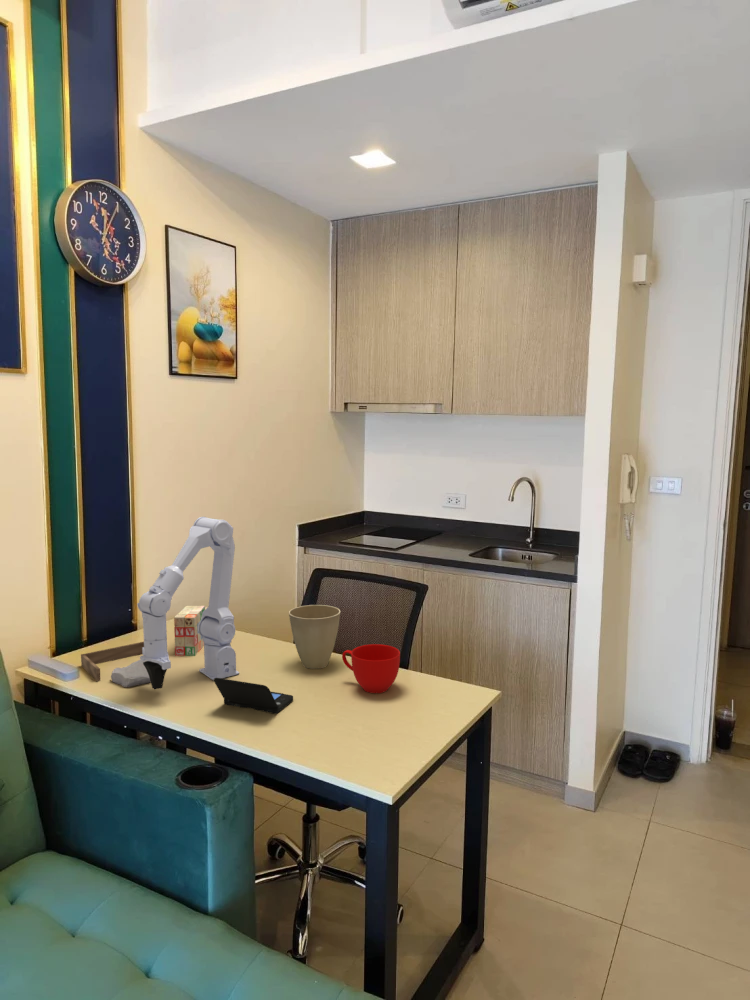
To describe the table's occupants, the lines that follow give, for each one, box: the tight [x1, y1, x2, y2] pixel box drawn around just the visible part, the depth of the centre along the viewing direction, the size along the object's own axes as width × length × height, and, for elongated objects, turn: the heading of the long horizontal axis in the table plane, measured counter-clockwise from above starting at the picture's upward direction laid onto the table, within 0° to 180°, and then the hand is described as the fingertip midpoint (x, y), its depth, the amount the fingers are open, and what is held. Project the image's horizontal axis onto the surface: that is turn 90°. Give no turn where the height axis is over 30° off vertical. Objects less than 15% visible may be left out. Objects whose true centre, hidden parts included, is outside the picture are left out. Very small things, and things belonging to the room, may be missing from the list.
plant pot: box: [288, 604, 341, 670], centre depth 199 cm, size 15×15×16 cm
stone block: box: [110, 659, 151, 688], centre depth 188 cm, size 12×5×10 cm
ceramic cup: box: [341, 643, 401, 694], centre depth 183 cm, size 13×17×10 cm
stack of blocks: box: [173, 605, 208, 657], centre depth 217 cm, size 21×6×12 cm, turn 178°
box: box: [80, 641, 144, 682], centre depth 198 cm, size 15×20×4 cm
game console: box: [213, 678, 294, 715], centre depth 171 cm, size 16×14×9 cm
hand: (157, 688), depth 179 cm, fingers closed
